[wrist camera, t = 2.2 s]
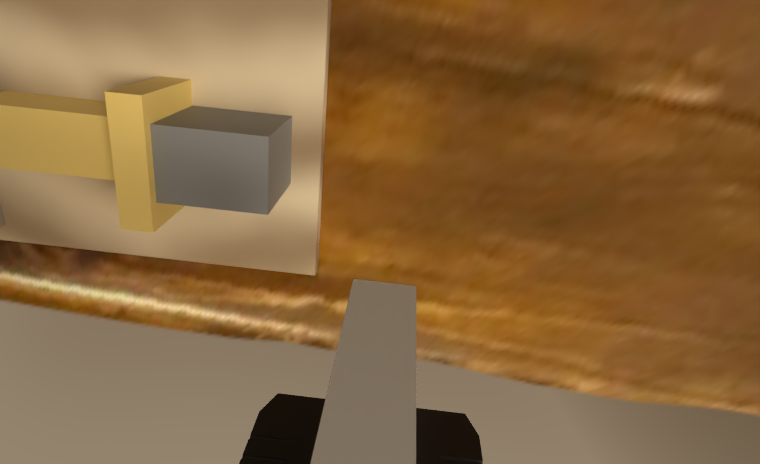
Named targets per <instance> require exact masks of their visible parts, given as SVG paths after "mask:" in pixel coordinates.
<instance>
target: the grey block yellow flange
mask: <svg viewBox="0 0 760 464" xmlns="http://www.w3.org/2000/svg"><path fill="white" fill-rule="evenodd" d="M104 92H105V101H99V100H89V99H80V98H70V97H61V96H52V95H42V94H33V93H24V92H14V91H2V92H0V168H6V169H15V170H24V171H33V172H43V173H52V174H61V175H70V176H79V177H88V178H97V179H106V180H115V187H116V196H117V204H118V213H119V222H120V229H124V230H133V231H142V232H151V233H154V232H155V231H156V230H157V229H159V228H160V227H161V226H162V225H163V224H164V223H166V222H167V221H168V220H169V219H170V218H171V217H173V216H174V215H175V214H176V213H177V212H178V211H180V210H181V209H182V208H183V207H184V206H192V207H201V208H210V209H219V210H228V211H237V212H246V213H255V214H264V215H268V214H269V213H270V212H271V210H272V209H273V207H274V206H275V205H276V203H277V202H278V200H279V199H280V198H281V196H282V195H283V193H284V192H285V191H286V189H287V188H288V187H289V185H290V184H291V151H292V116H287V115H277V114H268V113H258V112H249V111H240V110H230V109H221V108H211V107H202V106H193V105H192V85H191V79H181V78H172V77H163V76H160V77H156V78H153V79H149V80H145V81H142V82H138V83H134V84H130V85H127V86H123V87H119V88H115V89H112V90H108V91H104Z"/></svg>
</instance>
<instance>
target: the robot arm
mask: <svg viewBox="0 0 760 464" xmlns="http://www.w3.org/2000/svg"><path fill="white" fill-rule="evenodd" d="M482 461H483V460H482V453H481V446H480V439H479V435H478V434H477V432H476V431H475V429H474V427H473V426H472V424H471V423H470V421H469V420H468V418H467V416H466V415H465V414H462V413H454V412H445V411H437V410H428V409H419V408H416V286H410V285H401V284H392V283H383V282H375V281H366V280H357V279H353V283H352V288H351V292H350V296H349V300H348V305H347V309H346V313H345V318H344V322H343V326H342V330H341V335H340V339H339V343H338V348H337V352H336V356H335V360H334V365H333V369H332V373H331V377H330V382H329V386H328V390H327V395H326V399H320V398H311V397H303V396H295V395H287V394H277V395H276V396H275V397H274V398H273V399H272V400H271V401H270V402H269V403H268V404H267V405H266V406H265V407H264V408H263V409H262V410H261V411H260V412H259V414H258V417H257V419H256V422H255V425H254V427H253V430H252V432H251V436H250V439H249V440H248V443H247V445H246V448H245V450H244V453H243V457H242V459H241V461H240V463H239V464H482Z"/></svg>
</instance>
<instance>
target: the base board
mask: <svg viewBox="0 0 760 464" xmlns="http://www.w3.org/2000/svg"><path fill="white" fill-rule="evenodd" d="M331 3H332V0H0V92H2V91H14V92H24V93H33V94H42V95H52V96H61V97H70V98H80V99H89V100H99V101H105V92H104V91H108V90H112V89H115V88H119V87H123V86H127V85H130V84H134V83H138V82H142V81H145V80H149V79H153V78H156V77H160V76H163V77H172V78H181V79H191V85H192V105H193V106H202V107H211V108H221V109H230V110H240V111H249V112H258V113H268V114H277V115H287V116H292V151H291V184H290V185H289V187H288V188H287V189H286V191H285V192H284V193H283V195H282V196H281V198H280V199H279V200H278V202H277V203H276V205H275V206H274V207H273V209H272V210H271V212H270V213H269V214H268V215H264V214H255V213H246V212H237V211H228V210H219V209H210V208H201V207H192V206H184V207H183V208H182V209H181V210H180V211H178V212H177V213H176V214H175V215H174V216H173V217H171V218H170V219H169V220H168V221H167V222H166V223H164V224H163V225H162V226H161V227H160V228H159V229H157V230H156V231H155V232H154V233H151V232H142V231H133V230H124V229H120V222H119V213H118V204H117V196H116V187H115V180H106V179H97V178H88V177H79V176H70V175H61V174H52V173H43V172H33V171H24V170H15V169H6V168H0V199H1V204H2V208H3V213H4V218H5V223H6V225H4V226H2V227H0V240H7V241H16V242H24V243H33V244H42V245H51V246H60V247H69V248H77V249H86V250H95V251H104V252H113V253H121V254H130V255H139V256H148V257H157V258H165V259H174V260H183V261H192V262H201V263H210V264H218V265H227V266H236V267H245V268H254V269H262V270H271V271H280V272H289V273H298V274H307V275H315V274H316V271H317V269H318V259H319V239H320V219H321V200H322V180H323V160H324V141H325V121H326V101H327V81H328V62H329V42H330V22H331Z"/></svg>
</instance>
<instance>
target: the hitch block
mask: <svg viewBox="0 0 760 464" xmlns="http://www.w3.org/2000/svg"><path fill="white" fill-rule="evenodd" d="M4 225H6V223H5V218H4V213H3V208H2V204H1V199H0V227H2V226H4Z"/></svg>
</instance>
